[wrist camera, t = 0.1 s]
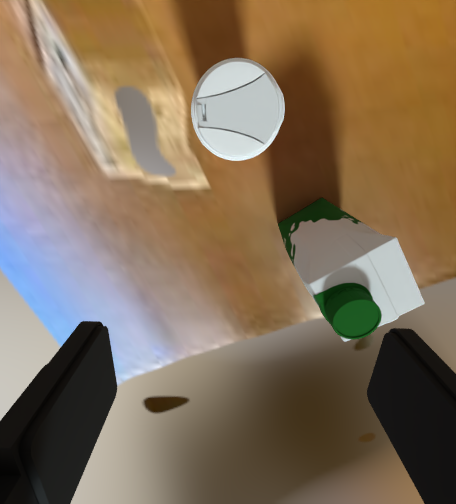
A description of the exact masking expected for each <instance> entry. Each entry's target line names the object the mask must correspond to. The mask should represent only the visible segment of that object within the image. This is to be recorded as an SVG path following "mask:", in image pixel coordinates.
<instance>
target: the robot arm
mask: <svg viewBox="0 0 456 504" xmlns="http://www.w3.org/2000/svg"><path fill="white" fill-rule="evenodd" d="M116 392H117V382H116V376H115V370H114V364H113V357H112V351H111V345H110V339H109V333H108V328H107V327H106V326H103V324H102V323H101V322H92V321H83V322H81V323H80V324H79V325H78V326H77V328H76V329H75V330H74V331H73V333H72V334H71V335H70V337H69V338H68V339H67V340H66V342H65V343H64V344H63V345H62V347H61V348H60V349H59V351H58V352H57V353H56V354H55V356H54V357H53V358H52V360H51V361H50V362H49V363H48V364H47V365H45V366H44V367H43V368H42V369H41V370H40V372H39V373H38V374H37V376H36V377H35V378H34V379H33V381H32V382H31V383H30V384H29V386H28V387H27V388H26V389H25V391H24V392H23V393H22V394H21V396H20V397H19V398H18V399H17V401H16V402H15V403H14V404H13V406H12V407H11V408H10V410H9V411H8V412H7V413H6V415H5V416H4V417H3V418H2V420H1V421H0V504H70V503H71V500H72V498H73V496H74V493H75V491H76V488H77V486H78V484H79V481H80V479H81V477H82V475H83V472H84V470H85V467H86V465H87V463H88V460H89V458H90V456H91V453H92V451H93V449H94V446H95V444H96V442H97V439H98V437H99V434H100V432H101V430H102V427H103V425H104V423H105V420H106V418H107V416H108V413H109V411H110V408H111V406H112V404H113V401H114V399H115V396H116ZM367 396H368V400H369V402H370V404H371V406H372V408H373V410H374V412H375V413H376V415H377V417H378V419H379V421H380V423H381V424H382V426H383V428H384V430H385V432H386V433H387V435H388V437H389V439H390V441H391V443H392V444H393V446H394V448H395V450H396V452H397V454H398V455H399V457H400V459H401V461H402V463H403V465H404V466H405V468H406V470H407V472H408V474H409V476H410V478H411V479H412V481H413V483H414V485H415V487H416V489H417V490H418V492H419V494H420V496H421V498H422V499H423V501H424V503H425V504H456V374H455V373H454V372H453V371H452V370H451V369H450V367H449V366H448V365H447V364H445V362H444V361H443V360H442V359H441V358H440V357H439V356H438V355H437V354H436V353H435V352H434V351H433V350H432V349H431V348H430V347H429V346H428V345H427V344H426V343H425V342H424V341H423V340H422V339H421V338H420V337H419V336H418V335H417V334H416V333H415V332H414V331H413V330H411V329H396V328H394V329H391V330H390V331H389V333H386V334H385V335H384V338H383V341H382V344H381V348H380V351H379V354H378V357H377V361H376V364H375V367H374V370H373V373H372V377H371V380H370V383H369V386H368V390H367Z"/></svg>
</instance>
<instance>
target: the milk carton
mask: <svg viewBox="0 0 456 504" xmlns="http://www.w3.org/2000/svg"><path fill="white" fill-rule="evenodd" d="M278 226H279V229H280V232H281V235H282V239H283V242H284V245H285V248H286V250H287V252H288V255H289V257H290V259H291V261H292V263H293V265H294V266H295V268H296V270H297V272H298V274H299V276H300V278H301V279H302V281H303V283H304V285H305V287H306V288H307V290H308V291H309V293H310V294H311V296H312V297H313V299H314V300H315V302H316V303H317V305H318V306H319V308H320V310H321V312H322V314H323V316H324V317H325V318H326V320H327V321H328V322H329V323H330V324H331V326H332V327H333V329H334V331H335V332H336V333H337V334H338V335H340V337H341V338H342V340H343V341H345V342H346V341H349V340H351V339H360V338H363V337H366V336H368V335H369V334H371V333H372V332H374V330H376V328H377V327H379V326H381V325H383V324H386V323H389V322H392V321H394V320H396V319H398V316H400V315H402V314H404V313H406V312H408V311H411V310H412V309H415V308H417V307H419V306H421V305H423V304H425V303H424V300H423V298H422V296H421V293H420V291H419V289H418V286H417V284H416V282H415V279H414V277H413V275H412V272H411V270H410V268H409V266H408V263H407V261H406V259H405V256H404V254H403V252H402V249H401V247H400V245H399V242H398V240H397V238H396V237H392V236H387V235H382V234H380V233H378V232H377V231H375V230H373V229H372V228H370V227H369V226H367V225H365V224H364V223H362V222H361V221H359V220H357V219H356V218H354V217H352V216H351V215H349V214H348V213H346V212H344V211H343V210H341V209H340V208H338V207H336V206H335V205H333V204H331V203H330V202H328V201H327V200H325V199H323V198H320V199H319V200H317V201H315V202H314V203H312V204H310V205H309V206H307V207H305V208H304V209H302V210H300V211H299V212H297V213H295V214H294V215H292V216H290V217H289V218H287V219H285V220H284V221H282V222H280V223H279V224H278Z"/></svg>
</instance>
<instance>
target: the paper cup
mask: <svg viewBox="0 0 456 504" xmlns="http://www.w3.org/2000/svg"><path fill="white" fill-rule="evenodd" d="M284 113H285V103H284V97H283V93H282V92H281V90H280V88H279V86H278V84H277V82H276V80H275V79H274V77H273V76H272V75H271V73H270V72H269V71H268V70H267V69H266V68H265V67H263V66H262V65H260V64H259V63H257V62H254V61H252V60H249V59H245V58H231V59H226V60H223V61H220V62H219V63H217V64H215V65H213V66H212V67H211V68H210V69H208V70H207V71H206V73H205V74H204V75H203V76H202V77H201V79H200V80H199V82H198V84H197V86H196V88H195V91H194V94H193V98H192V104H191V116H192V122H193V126H194V129H195V131H196V134H197V136H198V138H199V139H200V141H201V142H202V144H203V145H204V146H205V147H206V148H207V149H208V150H209V151H211V152H212V153H213V154H215V155H217V156H218V157H221V158H223V159H227V160H233V161H240V160H246V159H250V158H253V157H255V156H257V155H259V154H260V153H261V152H263V151H264V150H265V149H266V148H267V147H268V146H269V145H270V144H271V143H272V142H273V140H274V139H275V137H276V135H277V133H278V131H279V128H280V126H281V124H282V122H283V119H284Z"/></svg>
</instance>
